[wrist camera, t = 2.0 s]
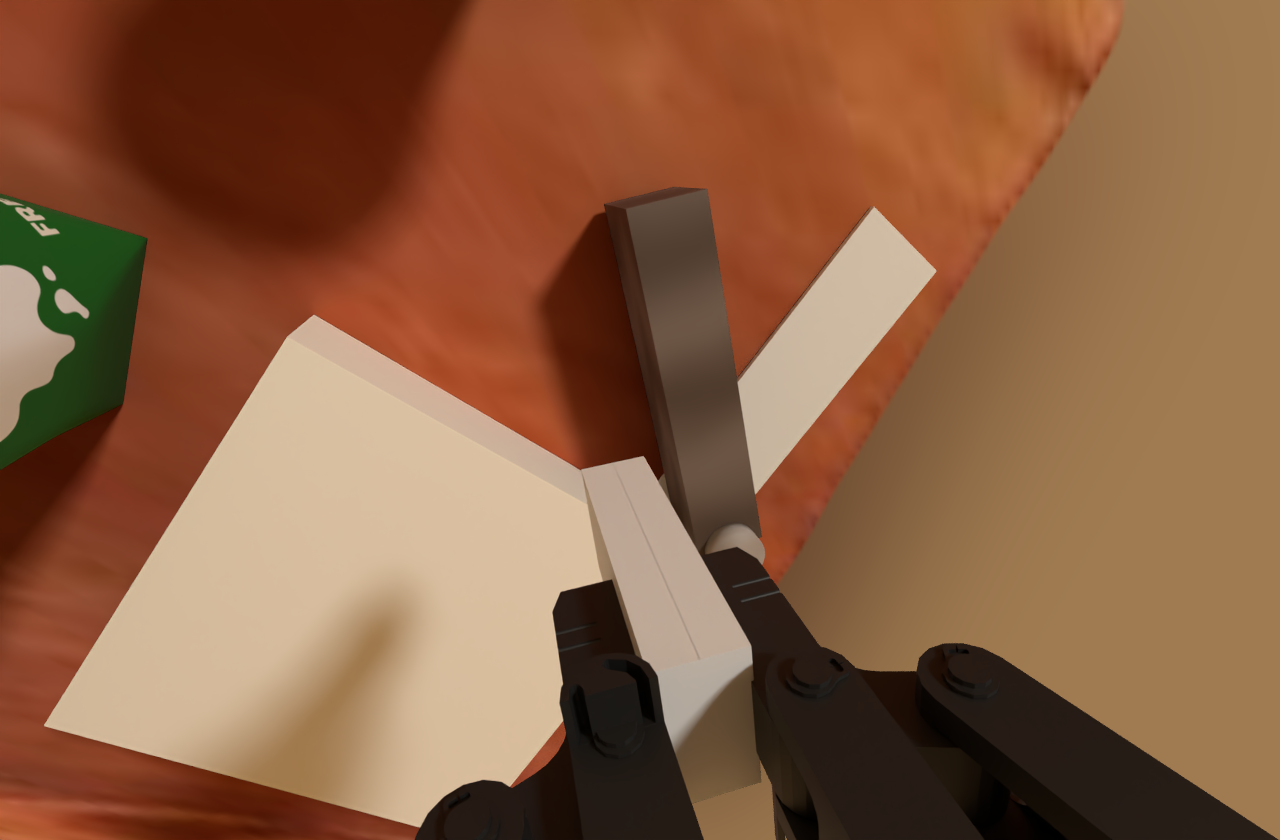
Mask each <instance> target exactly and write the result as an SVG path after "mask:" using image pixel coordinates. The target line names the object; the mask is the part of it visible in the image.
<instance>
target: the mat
mask: <svg viewBox="0 0 1280 840" xmlns="http://www.w3.org/2000/svg"><path fill="white" fill-rule="evenodd" d="M935 272H936V270H935V269H934V268H933V267H932V266H931V265H930V264H929V263H928V262H927V261H926V260H925V259H924V258H923V256H922V255H921V254H920V253H919V252H918V251H917V250H916V249H915V248H914V247H913V246H912V245H911V244H910V243H909V242H908V241H907V240H906V239H905V238H904V237H903V236H902V235H901V234H900V233H899V232H898V231H897V230H896V229H895V228H894V227H893V226H892V225H891V224H890V223H889V222H888V221H887V220H886V219H885V217H884V216H883V215H882V214H881V213H880V212H879V211H878V210H877V209H876V208H875V207H870V208H869V209H868V211H867V212H866V213H865V215H864V216H863V217H862V218H861V220H860V221H859V222H858V224H857V225H856V226H855V227H854V229H853V230H852V231H851V233H850V234H849V235H848V236H847V238H846V239H845V240H844V242H843V243H842V244H841V245H840V247H839V248H838V249H837V251H836V252H835V253H834V254H833V256H832V257H831V258H830V260H829V261H828V262H827V264H826V265H825V266H824V267H823V269H822V270H821V271H820V273H819V274H818V275H817V276H816V278H815V279H814V280H813V282H812V283H811V284H810V285H809V287H808V288H807V289H806V291H805V292H804V293H803V294H802V296H801V297H800V298H799V300H798V301H797V302H796V303H795V305H794V306H793V307H792V309H791V310H790V311H789V312H788V314H787V315H786V316H785V318H784V319H783V320H782V321H781V323H780V324H779V325H778V327H777V328H776V329H775V331H774V332H773V333H772V334H771V336H770V337H769V338H768V340H767V341H766V342H765V343H764V345H763V346H762V347H761V349H760V350H759V351H758V352H757V354H756V355H755V356H754V358H753V359H752V360H751V361H750V363H749V364H748V365H747V367H746V368H745V369H744V370H743V372H742V373H741V374H740V376H739V377H738V378H737V382H738V388H739V395H740V401H741V407H742V414H743V420H744V427H745V433H746V439H747V446H748V452H749V458H750V465H751V471H752V477H753V484H754V490H755V494H756V493H757V492H758V490H759V489H760V488H761V487H762V486H763V484H764V483H765V482H766V481H767V479H768V478H769V477H770V476H771V474H772V473H773V472H774V471H775V470H776V468H777V467H778V466H779V465H780V463H781V462H782V461H783V460H784V458H785V457H786V456H787V455H788V454H789V452H790V451H791V450H792V449H793V447H794V446H795V445H796V444H797V442H798V441H799V440H800V439H801V437H802V436H803V435H804V434H805V433H806V431H807V430H808V429H809V428H810V426H811V425H812V424H813V423H814V421H815V420H816V419H817V418H818V417H819V415H820V414H821V413H822V412H823V410H824V409H825V408H826V407H827V405H828V404H829V403H830V402H831V401H832V399H833V398H834V397H835V396H836V394H837V393H838V392H839V391H840V389H841V388H842V387H843V386H844V385H845V383H846V382H847V381H848V380H849V378H850V377H851V376H852V375H853V373H854V372H855V371H856V370H857V369H858V367H859V366H860V365H861V364H862V362H863V361H864V360H865V359H866V357H867V356H868V355H869V354H870V352H871V351H872V350H873V349H874V348H875V346H876V345H877V344H878V343H879V341H880V340H881V339H882V338H883V336H884V335H885V334H886V333H887V332H888V330H889V329H890V328H891V327H892V325H893V324H894V323H895V322H896V320H897V319H898V318H899V317H900V316H901V314H902V313H903V312H904V311H905V309H906V308H907V307H908V306H909V304H910V303H911V302H912V301H913V300H914V298H915V297H916V296H917V295H918V293H919V292H920V291H921V290H922V288H923V287H924V286H925V285H926V283H927V282H928V281H929V280H930V279H931V277H932V276H933V275H934V274H935ZM658 482H659V484H660V486H661V487H662V489H663V491H664V493H665V494H666V496H667V498H668V500H669V502H670V497H669V493H668V488H667V484H666V479H665V475H664V474H663V475H662V476H661V477H660V479H659V480H658ZM670 503H671V502H670Z"/></svg>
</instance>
